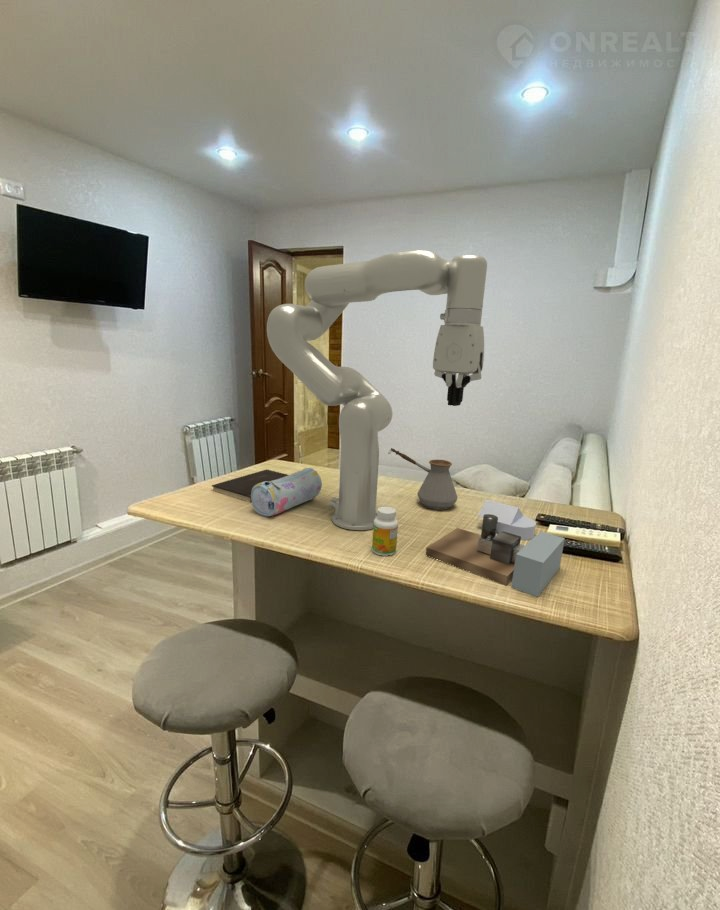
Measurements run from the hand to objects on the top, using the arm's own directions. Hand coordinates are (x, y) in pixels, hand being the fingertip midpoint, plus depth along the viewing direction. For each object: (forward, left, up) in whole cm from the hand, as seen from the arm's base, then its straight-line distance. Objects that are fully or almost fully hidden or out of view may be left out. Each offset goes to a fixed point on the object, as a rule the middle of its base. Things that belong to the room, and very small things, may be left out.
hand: (454, 405), depth 99 cm
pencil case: (-41, -11, -32) cm, 54 cm away
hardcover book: (-59, -6, -33) cm, 68 cm away
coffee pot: (-17, +19, -32) cm, 41 cm away
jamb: (+24, -3, -32) cm, 40 cm away
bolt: (+17, -3, -30) cm, 34 cm away
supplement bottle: (-6, -15, -32) cm, 36 cm away
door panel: (+11, -3, -32) cm, 34 cm away
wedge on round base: (+10, +17, -32) cm, 38 cm away
